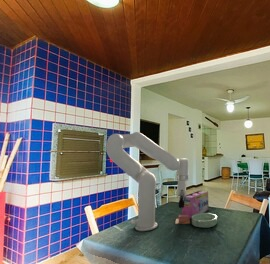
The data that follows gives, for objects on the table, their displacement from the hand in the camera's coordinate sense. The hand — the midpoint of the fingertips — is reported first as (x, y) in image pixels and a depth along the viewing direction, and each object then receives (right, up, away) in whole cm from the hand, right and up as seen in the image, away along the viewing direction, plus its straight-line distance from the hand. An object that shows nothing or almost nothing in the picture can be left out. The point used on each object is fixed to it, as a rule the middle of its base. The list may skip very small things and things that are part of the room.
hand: (181, 205), depth 125 cm
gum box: (+9, -11, +15) cm, 21 cm away
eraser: (+1, -9, 0) cm, 10 cm away
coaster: (+1, -10, -1) cm, 10 cm away
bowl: (+14, -9, -4) cm, 18 cm away
